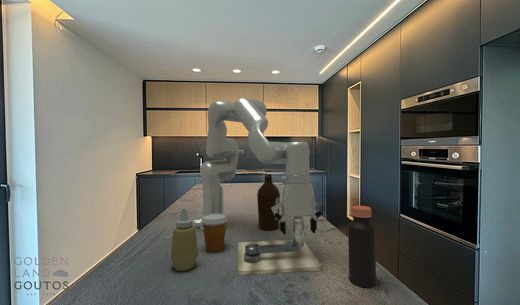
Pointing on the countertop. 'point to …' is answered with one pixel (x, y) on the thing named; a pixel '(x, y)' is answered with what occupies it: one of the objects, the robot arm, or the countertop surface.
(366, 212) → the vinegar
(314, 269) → the lever board
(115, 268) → the countertop surface
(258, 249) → the lever
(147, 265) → the countertop surface
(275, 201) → the olive oil
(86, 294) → the countertop surface
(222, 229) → the disposable coffee cup
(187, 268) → the squeeze bottle
